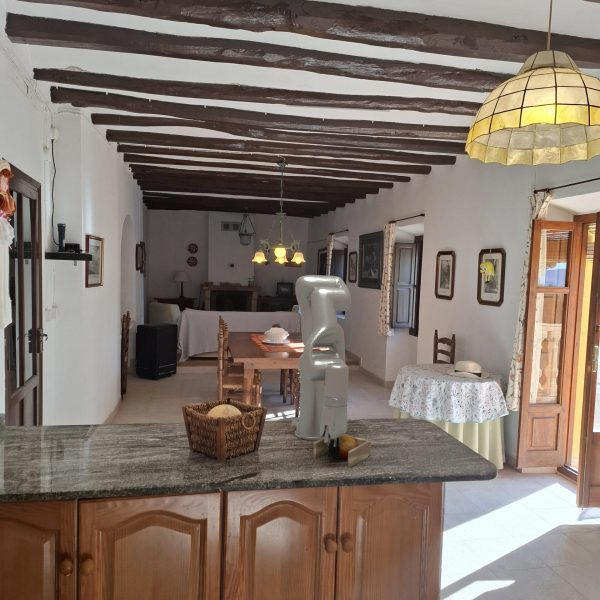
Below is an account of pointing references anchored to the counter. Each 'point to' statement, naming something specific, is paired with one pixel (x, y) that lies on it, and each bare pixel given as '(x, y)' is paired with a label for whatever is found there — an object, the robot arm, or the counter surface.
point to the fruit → (346, 446)
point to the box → (353, 455)
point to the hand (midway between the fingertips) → (333, 457)
